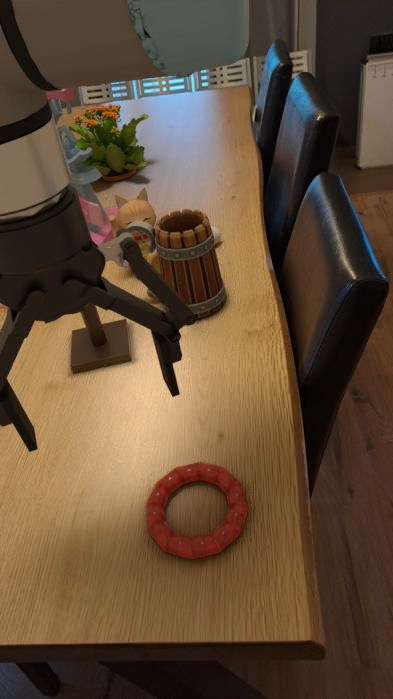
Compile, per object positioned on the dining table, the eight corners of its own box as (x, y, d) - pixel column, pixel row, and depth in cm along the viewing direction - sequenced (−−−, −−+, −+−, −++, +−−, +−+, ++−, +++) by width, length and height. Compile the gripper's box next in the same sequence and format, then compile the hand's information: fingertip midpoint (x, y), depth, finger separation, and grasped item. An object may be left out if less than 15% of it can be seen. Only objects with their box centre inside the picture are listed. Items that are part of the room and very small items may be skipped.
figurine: (128, 288, 90) (107, 211, 81) (120, 263, 98) (100, 190, 88) (173, 275, 91) (157, 199, 82) (162, 251, 99) (146, 178, 89)
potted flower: (180, 171, 129) (168, 99, 118) (100, 204, 121) (78, 129, 109) (134, 151, 146) (119, 86, 135) (60, 179, 137) (38, 112, 126)
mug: (231, 284, 87) (222, 203, 77) (220, 322, 79) (208, 238, 69) (147, 283, 91) (128, 207, 81) (129, 319, 83) (105, 239, 73)
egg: (192, 243, 100) (189, 226, 97) (221, 237, 100) (219, 220, 97) (195, 253, 97) (192, 235, 94) (225, 246, 97) (223, 229, 94)
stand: (128, 325, 82) (107, 254, 73) (131, 360, 75) (108, 286, 66) (74, 337, 82) (46, 267, 73) (73, 373, 75) (42, 301, 66)
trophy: (45, 233, 113) (-9, 90, 93) (102, 203, 121) (64, 65, 101) (97, 257, 101) (48, 98, 81) (157, 222, 109) (125, 70, 89)
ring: (234, 460, 59) (233, 450, 57) (259, 547, 50) (257, 537, 49) (144, 481, 58) (140, 471, 57) (153, 572, 50) (149, 563, 49)
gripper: (176, 133, 38) (210, 344, 51) (-174, 230, 33) (-33, 434, 47) (214, 162, 32) (242, 390, 46) (-200, 284, 27) (-31, 497, 41)
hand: (103, 413), depth 46 cm, fingers open, 13 cm apart
